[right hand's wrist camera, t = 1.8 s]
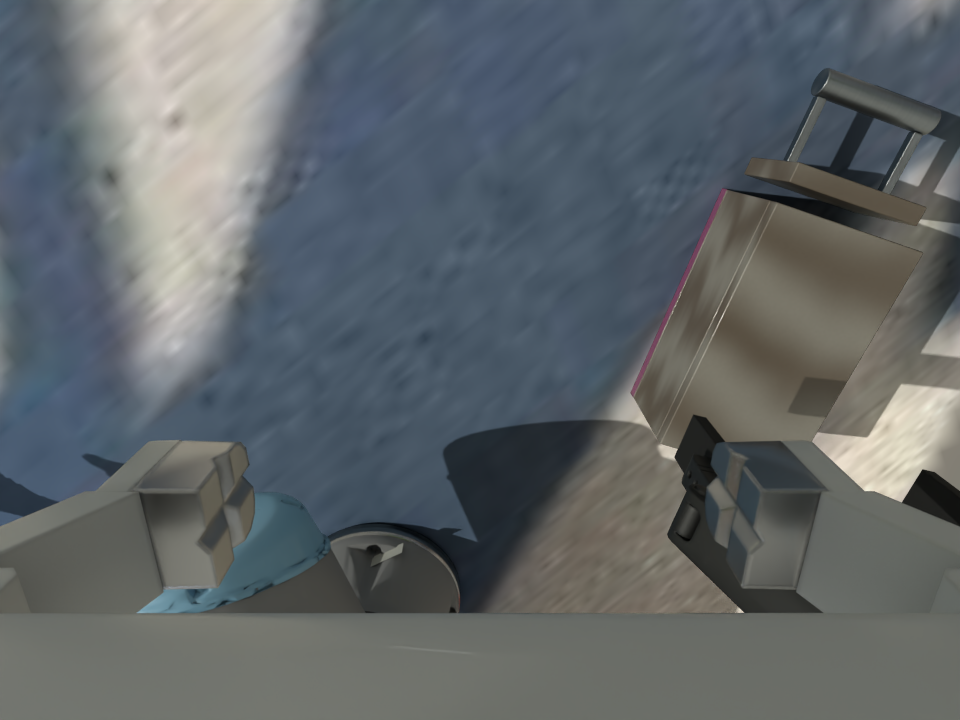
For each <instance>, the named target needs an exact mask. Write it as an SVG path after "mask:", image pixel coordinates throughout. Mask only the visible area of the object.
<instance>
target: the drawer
mask: <svg viewBox="0 0 960 720" xmlns="http://www.w3.org/2000/svg"><path fill="white" fill-rule="evenodd" d="M811 94H812V95H813V96H816V97H813V99H812V101H811V104H810V106H809V108H808V110H807V112H806V114H805V116H804V118H803V120H802V122H801V125H800V127H799V129H798V131H797V133H796V135H795V137H794V139H793V141H792V143H791V145H790V148H789V150H788V152H787V154H786V156H785V158H784V160H783V161H782V160H772V159H763V158H754V157H752V158H751V160H750V163H749V165H748V167H747V169H746V171H745V175H748V176H751V177H753V178H756V179H759V180H762V181H765V182H768V183H771V184H774V185H777V186H779V187H782V188H785V189H788V190H791V191H794V192H797V193H800V194H803V195H805V196H808V197H811V198H814V199H817V200H820V201H823V202H826V203H828V204H831V205H834V206H837V207H840V208H843V209H846V210H849V211H852V212H855V213H859V214H864V215H868V216H873V217H877V218H881V219H886V220H890V221H895V222H899V223H904V224H908V225H912V226H916V225H917V224H918V222H919V221H920V219H921V217H922V215H923V214H924V212H925V210H926V207H924V206H921V205H919V204H916V203H913V202H910V201H907V200H904V199H902V198H899V197H896V196H893V195H890V194H891V192H892V190H893V188H894V186H895V185H896V183H897V181H898V179H899V177H900V175H901V174H902V172H903V170H904V168H905V166H906V165H907V163H908V161H909V159H910V157H911V156H912V154H913V152H914V150H915V148H916V147H917V145H918V143H919V141H920V139H921V137H922V135H926V134H928V133H930V132H931V131H932V130H933V129H934V128H935V127H936V126H937V125H938V123H939V121H940V119H941V111H940V110H939V109H936V108H934V107H931V106H928V105H926V104H923V103H920V102H918V101H915V100H912V99H910V98H907V97H904V96H902V95H899V94H896V93H894V92H891V91H888V90H886V89H883V88H880V87H878V86H875V85H872V84H870V83H867V82H864V81H862V80H859V79H856V78H854V77H851V76H848V75H846V74H843V73H840V72H838V71H835V70H832V69H830V68H826V69H824V70H822V71H821V72H820V73H819V74H818V76H817V77H816V79H815V80H814V82H813V85H812V88H811ZM826 100H827V101H830V102H832V103H835V104H838V105H841V106H843V107H846V108H849V109H851V110H854V111H857V112H860V113H862V114H865V115H868V116H870V117H873V118H876V119H879V120H881V121H884V122H887V123H889V124H892V125H895V126H898V127H900V128H903V129H906V130H908V131H911V132H909V133H908V135H907V137H906V139H905V141H904V142H903V144H902V146H901V148H900V150H899V152H898V153H897V155H896V157H895V159H894V161H893V163H892V165H891V166H890V168H889V170H888V172H887V174H886V176H885V177H884V179H883V181H882V183H881V185H880V187H879V188H878V190H876V189H873V188H870V187H868V186H865V185H862V184H859V183H856V182H853V181H851V180H848V179H845V178H842V177H839V176H837V175H834V174H831V173H828V172H825V171H822V170H820V169H817V168H814V167H811V166H808V165H805V164H803V163H800V162H797V160H798V158H799V156H800V154H801V152H802V150H803V148H804V146H805V143H806V141H807V139H808V137H809V135H810V133H811V131H812V129H813V127H814V125H815V123H816V121H817V119H818V117H819V115H820V113H821V111H822V108H823V106H824V104H825V102H826Z"/></svg>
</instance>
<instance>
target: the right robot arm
mask: <svg viewBox="0 0 960 720" xmlns="http://www.w3.org/2000/svg"><path fill="white" fill-rule="evenodd" d="M249 465H250V464H249V460H248V455H247V450H246V447H245V446H244V445H243V444H242V443H241V442H225V441H181V440H166V441H150V442H148V443H147V444H146V445H144V446H143V447H142V448H141V449H140V450H139V451H138V452H137V453H136V454H135V455H134V456H133V457H132V458H131V459H129V460H128V461H127V462H126V463H125V464H124V465H123V466H122V467H121V468H120V469H119V470H118V471H117V472H116V473H114V474H113V475H112V476H111V477H110V478H109V479H108V480H107V481H106V482H105V483H104V484H103V485H102V486H101V487H99V488H98V489H97V490H96V491H85V492H83V493H81V494H78V495H76V496H73V497H71V498H68V499H66V500H64V501H61V502H59V503H56V504H54V505H51V506H49V507H47V508H44V509H42V510H39V511H37V512H34V513H32V514H30V515H27V516H25V517H22V518H20V519H17V520H15V521H13V522H10V523H8V524H5V525H3V526H0V720H960V527H959V526H957V525H954V524H952V523H950V522H947V521H945V520H942V519H940V518H938V517H935V516H933V515H930V514H928V513H925V512H923V511H921V510H918V509H916V508H913V507H911V506H908V505H906V504H904V503H901V502H899V501H896V500H894V499H892V498H889V497H887V496H884V495H882V494H879V493H877V492H875V491H864V490H863V489H862V488H861V487H860V486H858V485H857V484H856V483H855V482H854V481H853V480H852V479H851V478H850V477H849V476H848V475H847V474H846V473H845V472H844V471H842V470H841V469H840V468H839V467H838V466H837V465H836V464H835V463H834V462H833V461H832V460H831V459H830V458H829V457H828V456H826V455H825V454H824V453H823V452H822V451H821V450H820V449H819V448H818V447H817V446H816V445H815V444H814V443H813V442H810V441H806V440H793V441H747V442H721V443H717V444H716V446H715V448H714V450H713V454H712V459H711V464H710V465H711V466H712V468H713V469H714V471H715V472H716V474H717V477H716V478H715V479H714V480H713V481H712V482H711V483H710V484H709V485H708V486H707V489H706V497H705V514H706V521H707V524H708V528H709V531H710V533H711V534H712V536H713V538H714V540H715V541H716V542H717V543H719V544H721V545H722V546H724V547H725V548H727V553H726V561H727V563H728V565H729V566H730V568H731V570H732V572H733V573H734V575H735V577H736V578H737V580H738V582H739V584H740V585H741V587H742V588H750V589H787V590H796V592H797V593H798V594H799V595H801V596H802V597H803V598H805V599H806V600H807V601H809V602H810V603H811V604H813V605H814V606H815V607H817V608H818V609H819V610H821V611H822V612H823V613H137V612H138V611H140V610H141V609H142V608H144V607H145V606H146V605H148V604H149V603H150V602H152V601H153V600H154V599H156V598H157V597H158V596H160V595H161V594H162V593H163V592H164V591H163V590H172V589H208V588H218V587H219V586H220V584H221V582H222V580H223V579H224V577H225V575H226V573H227V572H228V570H229V568H230V566H231V565H232V563H233V561H234V553H233V548H235V547H236V546H238V545H239V544H241V543H243V542H244V541H245V540H246V538H247V536H248V534H249V533H250V531H251V528H252V524H253V520H254V515H255V495H254V488H253V486H252V485H251V484H250V483H249V482H248V481H247V480H246V479H245V478H244V477H243V474H244V472H245V471H246V469H247V468H248V466H249Z"/></svg>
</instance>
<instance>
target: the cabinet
mask: <svg viewBox="0 0 960 720" xmlns="http://www.w3.org/2000/svg"><path fill="white" fill-rule="evenodd" d="M922 255H923V252H921V251H918V250H915V249H912V248H909V247H906V246H903V245H900V244H897V243H894V242H892V241H889V240H886V239H883V238H880V237H877V236H874V235H871V234H868V233H865V232H862V231H860V230H857V229H854V228H851V227H848V226H845V225H842V224H839V223H836V222H833V221H830V220H827V219H825V218H822V217H819V216H816V215H813V214H810V213H807V212H804V211H801V210H798V209H795V208H793V207H790V206H787V205H784V204H781V203H778V202H774V201H770V200H766V199H762V198H758V197H754V196H750V195H746V194H742V193H738V192H734V191H730V190H727V189H723V188H722V190H721V193H720V195H719V197H718V199H717V201H716V204H715V206H714V208H713V210H712V213H711V215H710V217H709V219H708V221H707V224H706V226H705V228H704V230H703V233H702V235H701V237H700V239H699V242H698V244H697V246H696V248H695V250H694V253H693V255H692V257H691V259H690V262H689V264H688V266H687V268H686V270H685V273H684V275H683V277H682V279H681V282H680V284H679V286H678V288H677V291H676V293H675V295H674V297H673V299H672V302H671V304H670V306H669V308H668V311H667V313H666V315H665V317H664V320H663V322H662V324H661V326H660V328H659V331H658V333H657V335H656V337H655V340H654V342H653V344H652V346H651V348H650V351H649V353H648V355H647V357H646V360H645V362H644V364H643V366H642V369H641V371H640V373H639V375H638V377H637V380H636V382H635V384H634V386H633V389H632V391H631V395H632V396H633V397H634V399H635V401H636V402H637V404H638V406H639V408H640V409H641V411H642V413H643V415H644V416H645V418H646V420H647V422H648V423H649V425H650V427H651V429H652V430H653V432H654V434H655V436H656V437H657V439H658V441H659V442H660V444H663V445H666V446H670V447H673V448H677V449H678V448H679V446H680V443H681V441H682V439H683V436H684V434H685V432H686V430H687V427H688V425H689V423H690V420H691V418H692V416H693V414H694V415H698V416H702V417H706V418H707V419H708V420H709V422H710V423H711V424H712V425H713V427H714V428H715V429H716V430H717V432H718V433H719V434H720V435H721V437H722V438H723V439H724V440H725V442H747V441H793V440H806V441H810V442H812V440H813V438H814V437H815V435H816V433H817V432H818V430H819V428H820V427H821V425H822V423H823V421H824V420H825V418H826V416H827V415H828V413H829V411H830V410H831V408H832V406H833V405H834V403H835V401H836V400H837V398H838V396H839V394H840V393H841V391H842V389H843V388H844V386H845V384H846V383H847V381H848V379H849V378H850V376H851V374H852V373H853V371H854V369H855V368H856V366H857V364H858V362H859V361H860V359H861V357H862V356H863V354H864V352H865V351H866V349H867V347H868V346H869V344H870V342H871V341H872V339H873V337H874V335H875V334H876V332H877V330H878V329H879V327H880V325H881V324H882V322H883V320H884V319H885V317H886V315H887V314H888V312H889V310H890V308H891V307H892V305H893V303H894V302H895V300H896V298H897V297H898V295H899V293H900V292H901V290H902V288H903V287H904V285H905V283H906V282H907V280H908V278H909V276H910V275H911V273H912V271H913V270H914V268H915V266H916V265H917V263H918V261H919V260H920V258H921V256H922Z"/></svg>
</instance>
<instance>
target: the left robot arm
mask: <svg viewBox="0 0 960 720" xmlns="http://www.w3.org/2000/svg"><path fill="white" fill-rule="evenodd" d="M721 442H725V440H724V439H723V438H722V437H721V435H720V434H719V433H718V432H717V430H716V429H715V428H714V427H713V425H712V424H711V423H710V422H709V420H708V419H707V418H706V417H702V416H698V415H694V414H693V416H692V418H691V420H690V423H689V425H688V427H687V430H686V432H685V434H684V436H683V439H682V441H681V443H680V446H679V448H678V450H677V452H676V455H675V459H676V461H677V462H678V464H679V466H680V467H681V469H682V471H683V472H684V476H683V478H682V484H683V486H684V487H685V489H686V491H687V492H686V494H685V496H684V498H683V500H682V503H681V505H680V507H679V509H678V511H677V513H676V516H675V518H674V520H673V522H672V525H671V527H670V529H669V531H668V534H667V535H668V538H669V539H670V540H671V541H672V542H673V543H674V544H675V545H676V546H677V547H678V548H679V549H680V550H681V551H682V552H683V553H684V554H685V555H686V556H687V557H688V558H689V559H690V560H691V561H692V562H693V563H694V564H695V565H696V566H697V567H698V568H699V569H700V570H701V571H702V572H703V573H704V574H705V575H706V576H707V577H708V578H709V579H710V580H712V581H713V582H714V583H715V584H716V585H717V586H718V587H719V588H720V589H721V590H722V591H723V592H724V593H725V594H726V595H727V596H728V597H729V598H730V599H731V600H732V601H733V602H734V603H735V604H736V605H737V606H738V607H739V608H740V609H741V610H742V611H743V612H744V613H823V612H822V611H821V610H819V609H818V608H817V607H815V606H814V605H813V604H811V603H810V602H809V601H807V600H806V599H805V598H803V597H802V596H801V595H799V594H798V593H797V592H796V590H787V589H750V588H742V587H741V585H740V584H739V582H738V580H737V578H736V577H735V575H734V573H733V572H732V570H731V568H730V566H729V565H728V563H727V561H726V553H727V548H725V547H724V546H722V545H721V544H719V543H717V542H716V541H715V540H714V538H713V536H712V534H711V533H710V531H709V528H708V524H707V521H706V514H705V497H706V489H707V486H708V485H709V484H710V483H711V482H712V481H713V480H714V479H715V478H716V477H717V474H716V472H715V471H714V469H713V468H712V466H711V465H710V464H711V459H712V454H713V450H714V448H715V446H716V444H717V443H721ZM254 495H255V515H254V520H253V524H252V528H251V531H250V533H249V534H248V536H247V538H246V540H245V541H244V542H243V543H241V544H239V545H238V546H236V547H235V548H233V553H234V561H233V563H232V565H231V566H230V568H229V570H228V572H227V573H226V575H225V577H224V579H223V580H222V582H221V584H220V586H219V587H218V588H208V589H172V590H163V591H164V592H163V593H162V594H161V595H160V596H158V597H157V598H156V599H154V600H153V601H152V602H150V603H149V604H148V605H146V606H145V607H144V608H142V609H141V610H140V611H138V612H137V613H459V608H460V582H459V577H458V574H457V571H456V569H455V567H454V565H453V563H452V562H451V560H450V559H449V557H448V556H447V555H446V554H445V553H444V551H443V550H442V549H441V548H439V547H438V546H437V545H436V544H435V543H433V542H432V541H431V540H429V539H428V538H426V537H424V536H422V535H420V534H419V533H416V532H414V531H411V530H409V529H406V528H402V527H398V526H394V525H387V524H364V525H357V526H352V527H349V528H345V529H342V530H340V531H337V532H335V533H333V534H331V535H330V536H328V537H327V536H326V535H324V534H322V533H321V532H320V530H319V529H318V527H317V525H316V524H315V522H314V521H313V519H312V517H311V516H310V514H309V512H308V511H307V509H306V508H305V506H304V505H303V504H302V503H300V502H299V501H298V500H297V499H295V498H293V497H291V496H289V495H285V494H282V493H276V492H260V493H254ZM902 503H904V504H906V505H908V506H911V507H913V508H916V509H918V510H921V511H923V512H925V513H928V514H930V515H933V516H935V517H938V518H940V519H942V520H945V521H947V522H950V523H952V524H954V525H957V526H959V527H960V491H959V490H958V489H956V488H955V487H954V486H952V485H951V484H950V483H948V482H947V481H946V480H944V479H943V478H942V477H940V476H939V475H938V474H936V473H935V472H931V471H927V470H923V469H922V471H921V473H920V474H919V476H918V478H917V479H916V481H915V482H914V484H913V486H912V487H911V489H910V490H909V492H908V494H907V495H906V497H905V498H904V500H903V502H902Z"/></svg>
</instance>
